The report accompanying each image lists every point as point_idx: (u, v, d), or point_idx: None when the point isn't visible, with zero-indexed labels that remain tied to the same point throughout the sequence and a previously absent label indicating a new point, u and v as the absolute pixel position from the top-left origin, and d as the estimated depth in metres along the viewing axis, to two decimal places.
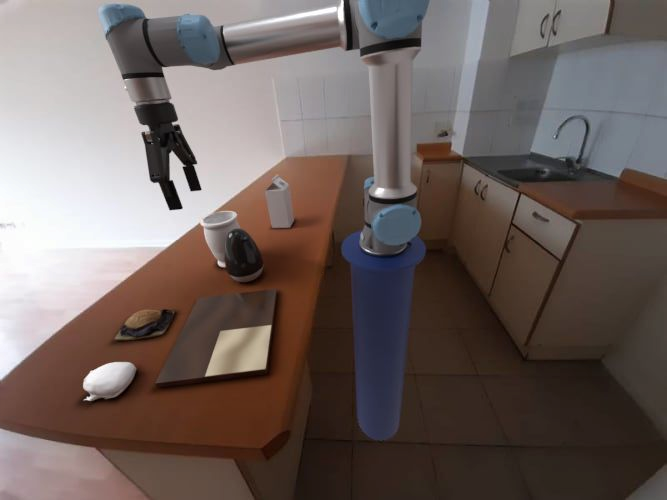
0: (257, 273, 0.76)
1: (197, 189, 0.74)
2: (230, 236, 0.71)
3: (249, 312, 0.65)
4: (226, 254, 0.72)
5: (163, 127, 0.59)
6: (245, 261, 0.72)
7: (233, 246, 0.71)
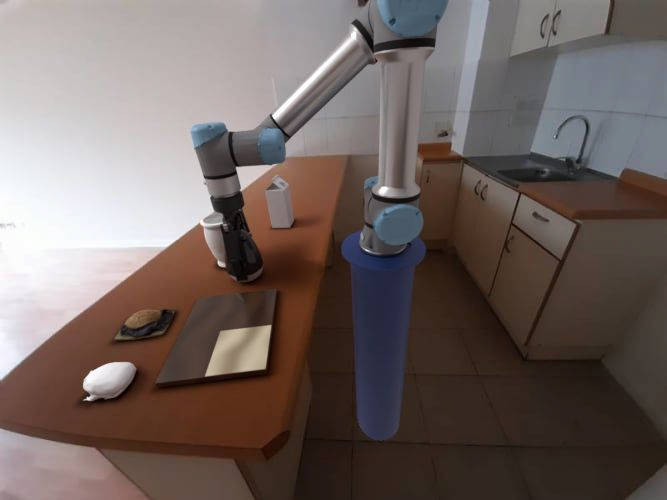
0: (257, 273, 0.76)
1: None
2: None
3: (249, 312, 0.65)
4: None
5: (233, 213, 0.68)
6: (245, 261, 0.72)
7: None
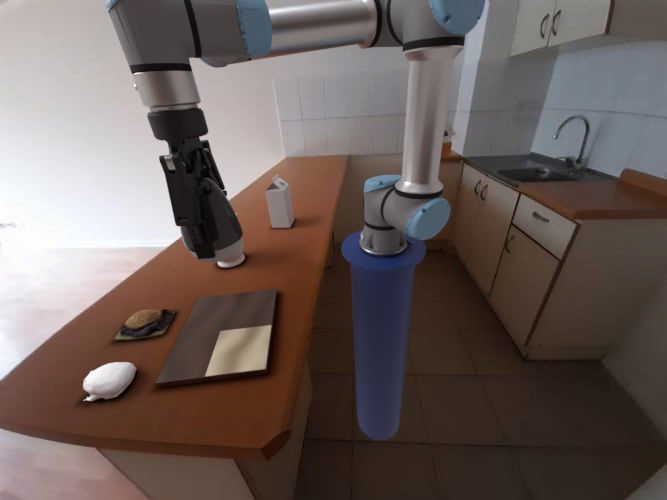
0: (231, 248, 0.49)
1: None
2: None
3: (249, 312, 0.65)
4: None
5: (187, 143, 0.41)
6: (210, 226, 0.45)
7: None
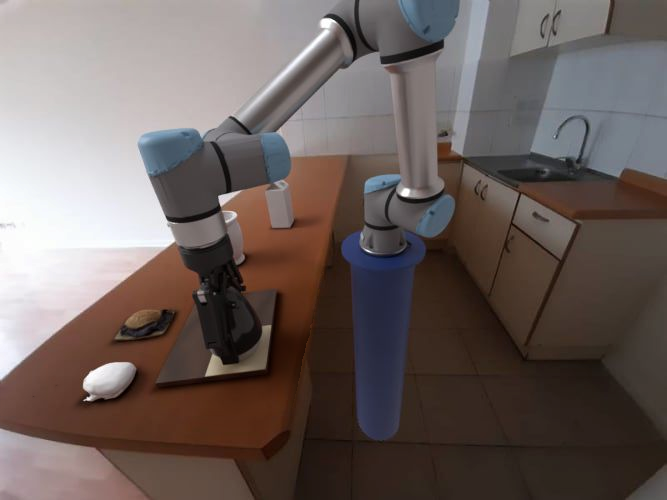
0: (253, 349, 0.52)
1: None
2: None
3: None
4: None
5: (215, 269, 0.44)
6: (235, 336, 0.48)
7: None
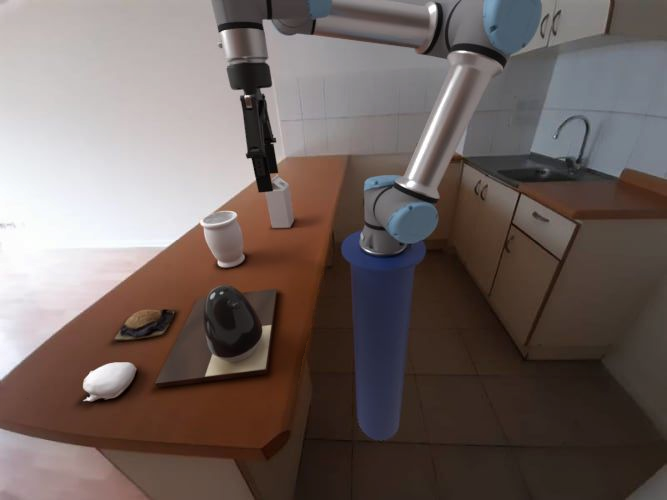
0: (253, 349, 0.52)
1: (274, 171, 0.65)
2: (211, 301, 0.47)
3: None
4: (206, 326, 0.48)
5: (257, 93, 0.50)
6: (235, 336, 0.48)
7: (215, 317, 0.46)
